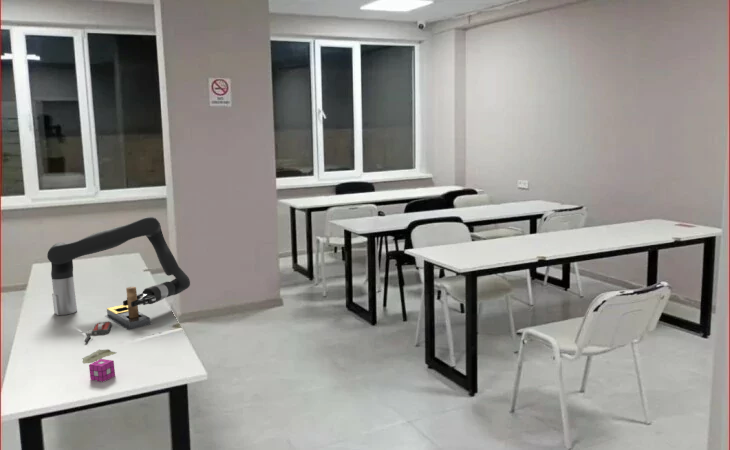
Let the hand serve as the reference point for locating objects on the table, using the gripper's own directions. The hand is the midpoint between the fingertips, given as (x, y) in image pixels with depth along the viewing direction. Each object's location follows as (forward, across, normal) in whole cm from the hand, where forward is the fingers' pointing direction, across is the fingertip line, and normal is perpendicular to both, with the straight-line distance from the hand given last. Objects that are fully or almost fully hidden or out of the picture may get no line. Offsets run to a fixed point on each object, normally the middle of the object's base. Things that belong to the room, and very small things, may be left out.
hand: (127, 304), depth 266 cm
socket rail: (-6, -6, +10) cm, 14 cm away
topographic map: (+32, +16, +11) cm, 38 cm away
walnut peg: (-3, 0, +10) cm, 10 cm away
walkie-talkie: (+12, -6, +11) cm, 17 cm away
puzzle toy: (+46, +31, +11) cm, 56 cm away
